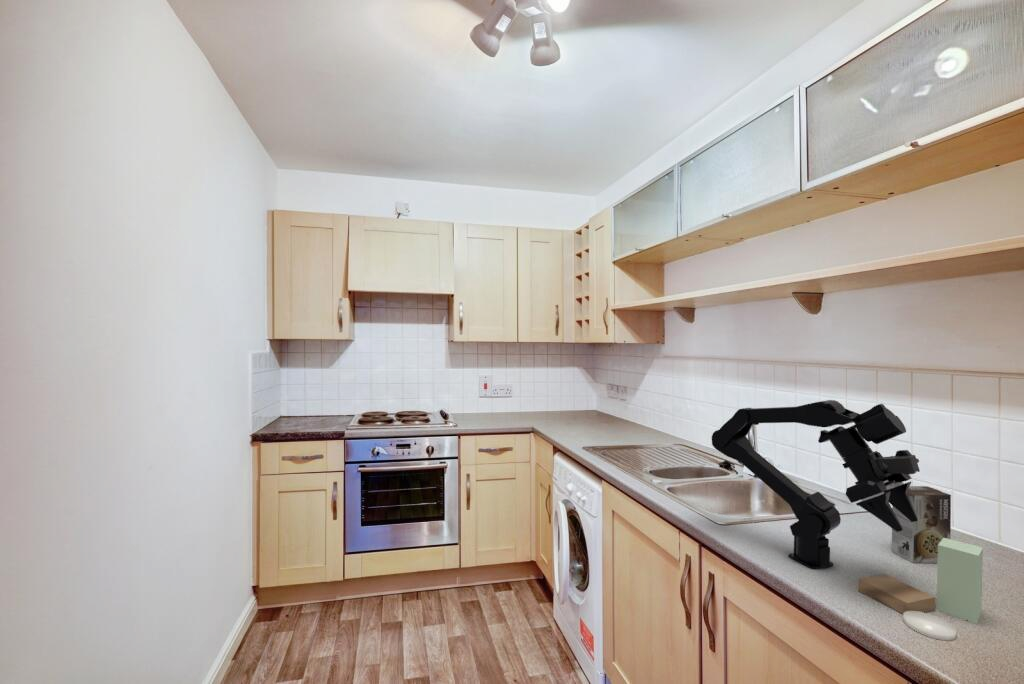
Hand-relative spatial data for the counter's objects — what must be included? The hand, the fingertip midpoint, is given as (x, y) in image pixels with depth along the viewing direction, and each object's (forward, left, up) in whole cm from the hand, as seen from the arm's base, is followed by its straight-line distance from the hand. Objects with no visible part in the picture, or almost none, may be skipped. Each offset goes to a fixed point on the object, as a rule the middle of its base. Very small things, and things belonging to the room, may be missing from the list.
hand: (908, 526), depth 93 cm
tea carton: (+6, +4, -14) cm, 16 cm away
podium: (0, -4, -14) cm, 15 cm away
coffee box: (-12, +22, -14) cm, 29 cm away
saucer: (+8, -8, -14) cm, 18 cm away
